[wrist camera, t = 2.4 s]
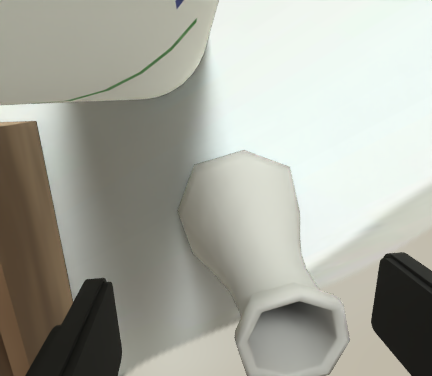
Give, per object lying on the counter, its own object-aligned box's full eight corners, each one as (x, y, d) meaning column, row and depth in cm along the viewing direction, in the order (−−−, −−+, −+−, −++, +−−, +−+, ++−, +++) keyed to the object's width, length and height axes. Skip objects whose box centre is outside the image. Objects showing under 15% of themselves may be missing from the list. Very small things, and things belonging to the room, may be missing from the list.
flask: (177, 147, 16) (157, 219, 7) (305, 150, 17) (454, 220, 7) (177, 263, 18) (161, 444, 9) (291, 262, 19) (392, 431, 9)
